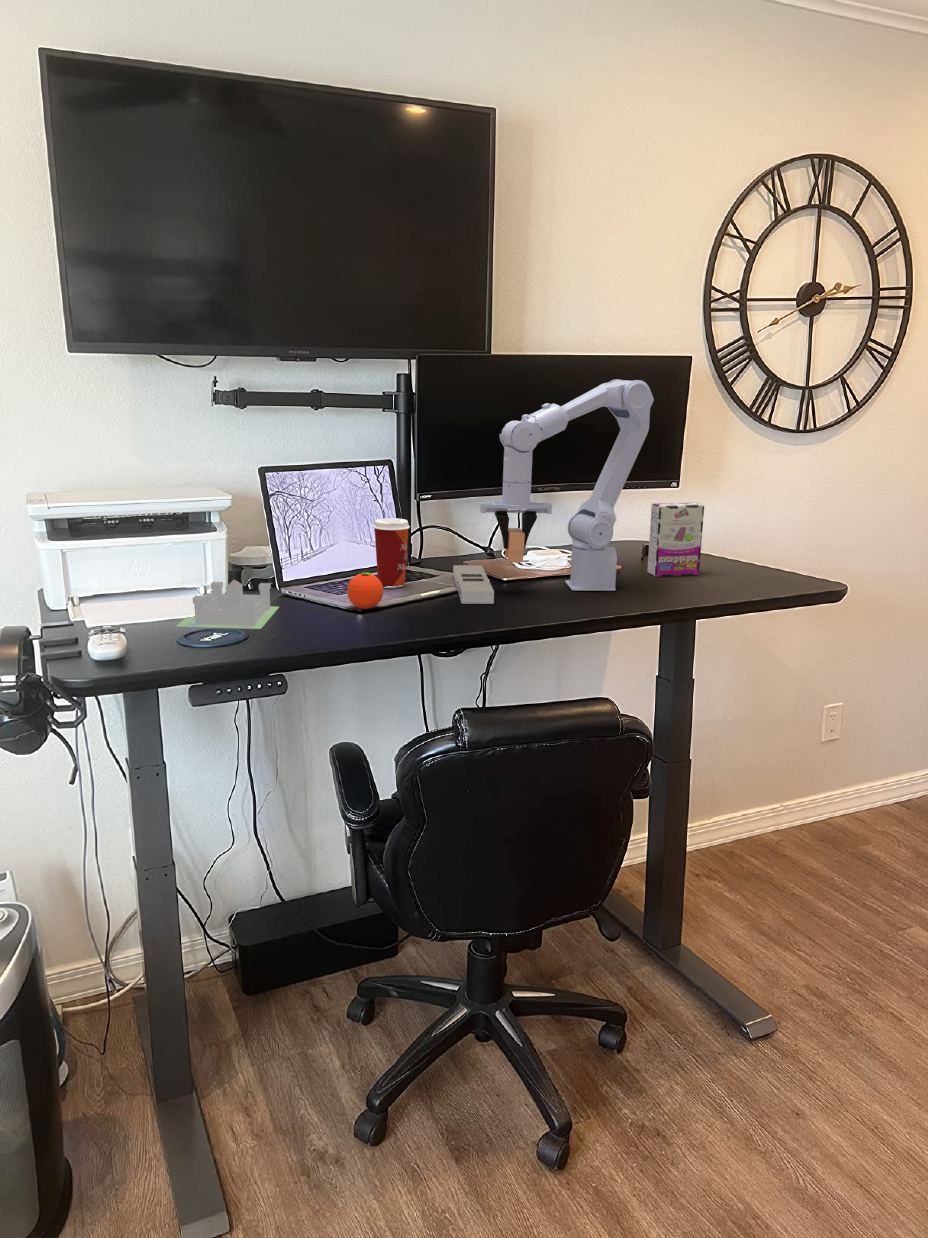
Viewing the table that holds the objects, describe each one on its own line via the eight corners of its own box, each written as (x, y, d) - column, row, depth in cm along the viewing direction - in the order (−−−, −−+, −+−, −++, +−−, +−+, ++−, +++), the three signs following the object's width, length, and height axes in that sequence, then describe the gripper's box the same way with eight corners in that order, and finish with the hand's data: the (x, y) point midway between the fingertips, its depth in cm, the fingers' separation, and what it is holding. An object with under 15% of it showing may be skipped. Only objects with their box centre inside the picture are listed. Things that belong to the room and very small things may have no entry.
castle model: (260, 631, 158) (259, 590, 156) (176, 629, 158) (173, 588, 156) (279, 609, 172) (278, 571, 170) (201, 607, 172) (199, 569, 170)
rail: (481, 576, 201) (481, 565, 200) (493, 603, 178) (494, 591, 177) (453, 576, 200) (453, 565, 199) (461, 603, 177) (461, 591, 176)
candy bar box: (689, 571, 211) (695, 501, 206) (699, 575, 206) (706, 504, 202) (645, 572, 208) (650, 502, 204) (654, 577, 204) (660, 505, 199)
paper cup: (412, 589, 188) (413, 523, 184) (376, 590, 186) (375, 523, 182) (406, 580, 195) (406, 517, 191) (370, 582, 193) (370, 517, 189)
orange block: (518, 556, 188) (520, 528, 187) (523, 562, 182) (524, 533, 180) (504, 556, 188) (505, 528, 186) (508, 562, 182) (510, 533, 180)
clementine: (351, 601, 177) (351, 566, 175) (386, 603, 176) (386, 568, 174) (344, 612, 169) (343, 575, 167) (380, 613, 169) (380, 577, 167)
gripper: (548, 479, 185) (545, 544, 189) (479, 478, 184) (477, 543, 188) (555, 484, 178) (551, 550, 182) (483, 482, 177) (480, 550, 181)
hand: (514, 547), depth 184 cm, fingers closed on orange block, 3 cm apart
